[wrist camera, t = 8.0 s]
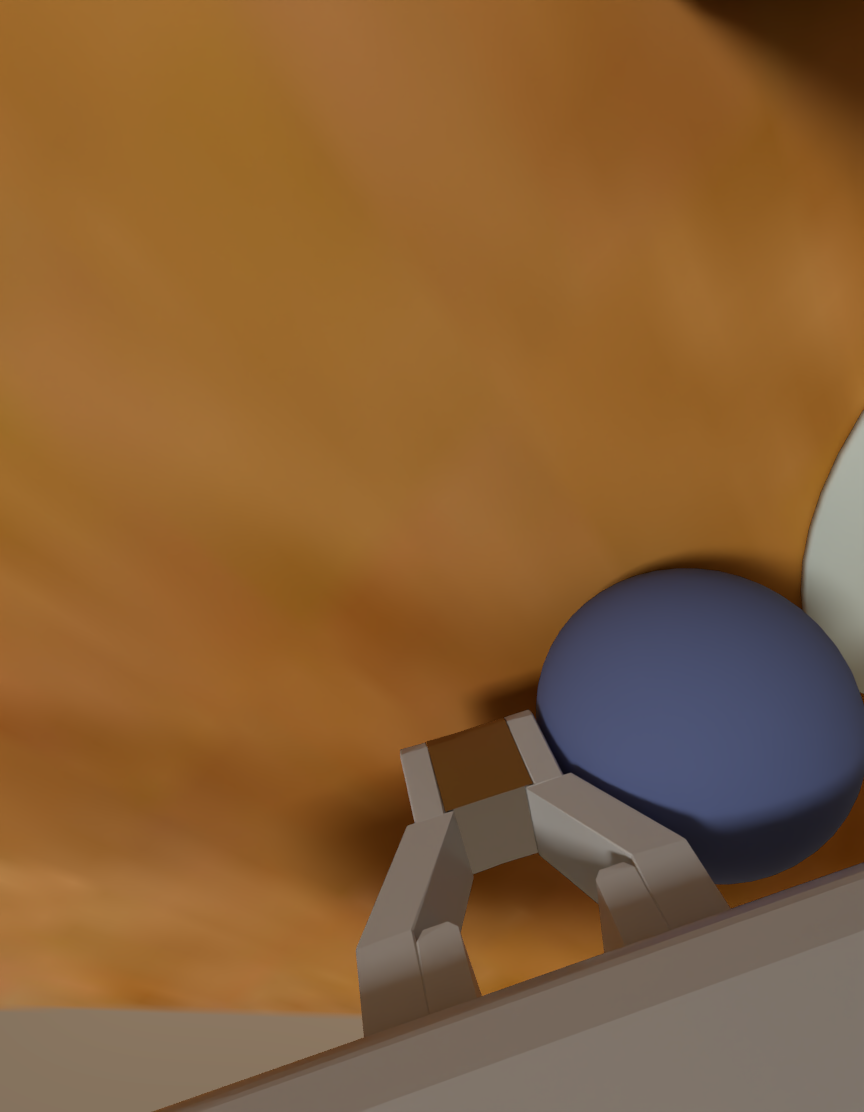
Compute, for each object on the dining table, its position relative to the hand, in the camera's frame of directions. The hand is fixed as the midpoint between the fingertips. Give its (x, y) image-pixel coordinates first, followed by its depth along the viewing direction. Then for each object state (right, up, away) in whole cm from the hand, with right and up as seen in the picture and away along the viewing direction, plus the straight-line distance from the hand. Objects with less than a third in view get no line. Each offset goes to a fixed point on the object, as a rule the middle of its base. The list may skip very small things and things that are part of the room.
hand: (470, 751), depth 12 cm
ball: (+4, +1, 0) cm, 4 cm away
